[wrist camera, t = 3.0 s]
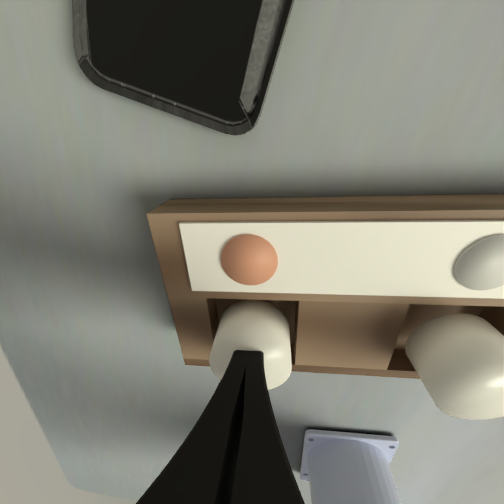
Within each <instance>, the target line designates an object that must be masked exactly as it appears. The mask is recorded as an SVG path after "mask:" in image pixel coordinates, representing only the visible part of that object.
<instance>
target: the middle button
mask: <svg viewBox="0 0 504 504" xmlns="http://www.w3.org/2000/svg"><path fill="white" fill-rule="evenodd" d="M405 352H406V355H407V357H408V358H409V360H410V362H411V363H412V365H413V367H414V369H415V370H416V372H417V374H418V375H419V377H420V379H421V380H422V382H423V384H424V385H425V387H426V389H427V390H428V392H429V394H430V396H431V397H432V399H433V401H434V402H435V404H436V406H437V407H438V408H439V409H440V410H441V411H443V412H444V413H446V414H448V415H451V416H454V417H457V418H462V419H473V420H479V419H491V418H497V417H502V416H504V336H503V335H502V334H501V333H500V332H499V331H498V330H497V329H496V328H494V327H493V326H492V325H491V324H490V323H489V322H488V321H486V320H485V319H483V318H481V317H479V316H475V315H471V314H449V315H444V316H440V317H437V318H434V319H431V320H429V321H427V322H425V323H424V324H422V325H420V326H419V327H418V328H416V329H415V330H414V331H413V332H412V333H411V334H410V336H409V337H408V339H407V341H406V345H405Z"/></svg>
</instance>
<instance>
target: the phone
mask: <svg viewBox="0 0 504 504" xmlns="http://www.w3.org/2000/svg"><path fill="white" fill-rule="evenodd" d="M72 3H73V30H74V47H75V53H76V57H77V60H78V63H79V65H80V67H81V69H82V70H83V72H84V73H85V75H86V77H87V78H88V79H90V80H91V81H92V82H93V83H94V84H95V85H97V86H99V87H100V88H102V89H105V90H107V91H110V92H113V93H116V94H118V95H121V96H124V97H127V98H129V99H132V100H135V101H138V102H140V103H143V104H146V105H149V106H151V107H154V108H157V109H160V110H162V111H165V112H168V113H171V114H173V115H176V116H179V117H182V118H184V119H187V120H190V121H192V122H195V123H198V124H201V125H203V126H206V127H209V128H212V129H214V130H217V131H220V132H223V133H225V134H231V135H241V134H245V133H247V132H248V131H250V130H252V128H253V127H254V126H255V125H256V124H257V122H258V120H259V118H260V115H261V112H262V109H263V106H264V102H265V99H266V95H267V92H268V89H269V85H270V82H271V78H272V75H273V72H274V68H275V65H276V61H277V58H278V55H279V51H280V48H281V44H282V41H283V37H284V34H285V31H286V27H287V24H288V20H289V17H290V14H291V10H292V7H293V3H294V0H72Z"/></svg>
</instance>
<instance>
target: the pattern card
mask: <svg viewBox="0 0 504 504" xmlns="http://www.w3.org/2000/svg"><path fill="white" fill-rule="evenodd" d="M179 227H180V232H181V237H182V242H183V247H184V252H185V257H186V263H187V268H188V273H189V278H190V283H191V288H192V291H216V292H256V293H296V294H336V295H376V296H416V297H456V298H495V299H504V220H411V221H261V222H180V223H179Z"/></svg>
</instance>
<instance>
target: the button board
mask: <svg viewBox="0 0 504 504" xmlns="http://www.w3.org/2000/svg"><path fill="white" fill-rule="evenodd" d="M147 218H148V222H149V226H150V230H151V234H152V238H153V242H154V245H155V249H156V253H157V257H158V261H159V265H160V269H161V273H162V277H163V280H164V284H165V288H166V292H167V296H168V300H169V304H170V308H171V311H172V315H173V319H174V323H175V327H176V331H177V335H178V339H179V343H180V346H181V350H182V354H183V358H184V362H185V365H197V366H210V364H209V356H210V353H211V349H212V346H213V343H214V339H215V336H216V333H217V330H218V326H219V323H220V320H221V316H222V314H223V312H224V311H225V310H226V309H227V308H228V307H229V306H231V305H232V304H234V303H236V302H239V301H243V300H261V301H265V302H268V303H270V304H272V305H274V306H276V307H277V308H279V309H280V310H281V311H282V312H283V313H284V314H285V316H286V318H287V320H288V323H289V332H290V347H291V362H292V370H291V371H298V372H315V373H332V374H349V375H365V376H382V377H399V378H416V379H420V377H419V375H418V374H417V372H416V370H415V369H414V367H413V365H412V363H411V362H410V360H409V358H408V357H407V355H406V352H405V345H406V341H407V339H408V337H409V336H410V334H411V333H412V332H413V331H414V330H415V329H416V328H418V327H419V326H420V325H422V324H424V323H425V322H427V321H429V320H431V319H434V318H437V317H440V316H444V315H449V314H471V315H475V316H479V317H481V318H483V319H485V320H486V321H488V322H489V323H490V324H491V325H492V326H493V327H494V328H496V329H497V330H498V331H499V332H500V333H501V334H502V335H503V336H504V299H495V298H456V297H416V296H376V295H336V294H296V293H256V292H216V291H192V288H191V283H190V278H189V273H188V268H187V263H186V257H185V252H184V247H183V242H182V237H181V232H180V227H179V223H180V222H261V221H411V220H504V194H460V195H402V196H344V197H286V198H228V199H170V200H168V201H166V202H165V203H163V204H161V205H160V206H158V207H156V208H155V209H153V210H152V211H150V212H148V213H147Z"/></svg>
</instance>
